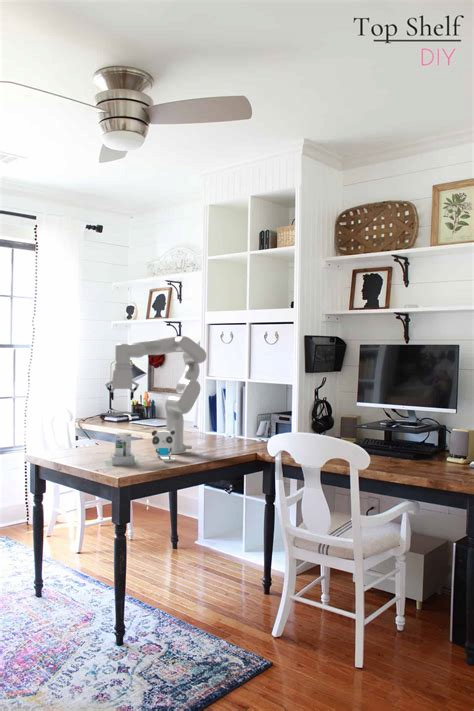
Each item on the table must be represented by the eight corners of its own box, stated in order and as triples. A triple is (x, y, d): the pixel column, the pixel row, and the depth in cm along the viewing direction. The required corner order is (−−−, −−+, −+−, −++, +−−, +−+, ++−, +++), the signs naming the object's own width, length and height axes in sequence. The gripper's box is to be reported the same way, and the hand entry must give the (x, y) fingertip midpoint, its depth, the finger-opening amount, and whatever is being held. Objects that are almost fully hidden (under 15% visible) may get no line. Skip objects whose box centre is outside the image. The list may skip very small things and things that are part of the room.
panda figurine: (149, 461, 307) (150, 431, 307) (153, 457, 318) (154, 428, 318) (173, 461, 306) (173, 432, 306) (176, 457, 318) (176, 429, 318)
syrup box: (114, 463, 290) (114, 433, 290) (120, 461, 296) (121, 432, 296) (124, 464, 288) (125, 434, 288) (131, 462, 294) (131, 432, 294)
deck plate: (137, 463, 301) (137, 460, 301) (140, 468, 287) (140, 465, 287) (105, 464, 297) (105, 461, 297) (106, 469, 283) (106, 466, 283)
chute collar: (132, 460, 298) (132, 452, 298) (134, 464, 288) (134, 456, 288) (111, 461, 296) (111, 453, 296) (112, 465, 286) (112, 457, 286)
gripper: (138, 367, 320) (138, 399, 320) (105, 366, 316) (104, 399, 316) (139, 367, 313) (139, 400, 313) (105, 367, 308) (105, 400, 308)
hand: (122, 400), depth 314 cm, fingers open, 9 cm apart
